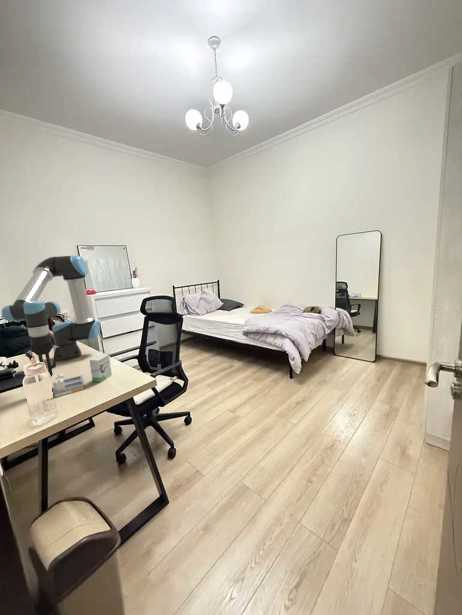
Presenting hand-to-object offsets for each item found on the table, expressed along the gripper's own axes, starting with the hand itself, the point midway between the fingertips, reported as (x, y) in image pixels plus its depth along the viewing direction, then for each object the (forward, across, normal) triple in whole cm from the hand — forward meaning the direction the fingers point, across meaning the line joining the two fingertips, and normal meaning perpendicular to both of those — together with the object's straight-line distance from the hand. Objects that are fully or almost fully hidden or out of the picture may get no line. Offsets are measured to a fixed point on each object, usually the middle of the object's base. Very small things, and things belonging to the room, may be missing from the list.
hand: (49, 383), depth 118 cm
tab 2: (+2, +4, -7) cm, 8 cm away
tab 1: (+2, +4, 0) cm, 5 cm away
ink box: (+4, +22, -3) cm, 22 cm away
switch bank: (+4, +8, -4) cm, 9 cm away
